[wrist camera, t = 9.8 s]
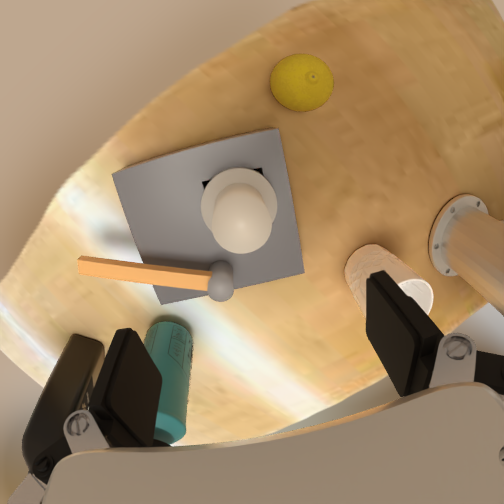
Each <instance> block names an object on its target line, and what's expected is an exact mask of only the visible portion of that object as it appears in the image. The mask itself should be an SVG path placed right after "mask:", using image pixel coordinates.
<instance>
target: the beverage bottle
mask: <svg viewBox="0 0 504 504" xmlns="http://www.w3.org/2000/svg"><path fill="white" fill-rule="evenodd" d="M148 330H149V331H148ZM148 330H147V331H148V332H147V334H146V337H145V341H144V346H145V348H146V350H147V351H148V353H149V355H150V356H151V358H152V360H153V362H154V363H155V365H156V367H157V368H158V370H159V371H160V373H161V375H162V380H163V381H162V388H161V394H160V400H159V406H158V412H157V419H156V425H155V432H154V439H153V445H152V447H172V446H170V444H172V443H174V442H176V441H178V440H180V439H181V438H183V436H184V435H185V433H186V413H187V404H188V403H187V402H188V401H187V400H189V399H188V392H189V379H190V376H191V375H190V373H191V372H190V367H191V369H192V365H191V363H192V362H191V359H192V358H193V354H192V353H193V352H192V351H193V350H192V348H193V346H192V344H194V343H193V342H192V340H193V339H192V337H191V335H190V333H189V332H188V331H187V330H186V329H185V328H184V327H183V326H181V325H179V324H177V323H173V322H159V323H156V324H155V325H153V326H152V327H151V328H149V329H148ZM189 396H190V395H189Z"/></svg>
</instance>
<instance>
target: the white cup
mask: <svg viewBox="0 0 504 504" xmlns="http://www.w3.org/2000/svg"><path fill="white" fill-rule="evenodd" d="M382 270H385V271H386V272H387V273H388V274H389V276H390V277H391V278H392V279H393V280H394V281H395V282H396V283H397V284H398V286H399V287H400V288H401V289H402V290H403V291H404V292H405V294H406V295H407V296H411V297H412V298H413V299H414V300H415V301H416V302H417V303H418V305H419V306H420V307H421V308H422V309H423V310H424V312H425V313H426V314H427V315H428V314H429V312H430V310H431V307H432V304H433V290H432V288H431V286H430V285H429V283H428V282H426V281H425V280H424V279H423V278H422V277H421V276H419V275H418V274H417V273H416V272H415V271H414V270H412V269H411V268H410V267H409V266H408V265H407V264H405V263H404V262H403V261H401V260H400V259H399V258H398V257H396V256H395V255H393V254H392V253H390V252H389V251H388V250H387V249H385V248H383V247H381V246H379V245H378V244H371V245H365V246H363V247H361V248H359V249H357V250H356V251H355V252H354V253H353V254H352V255H351V256H350V257H349V259H348V261H347V264H346V266H345V269H344V272H345V280H346V282H347V284H348V286H349V287H350V289H351V291H352V294H353V296H354V298H355V300H356V302H357V304H358V306H359V308H360V310H361V312H362V314H363V316H364V318H365V320H366V279H367V278H370V274H371V273H375V272H378V271H382Z"/></svg>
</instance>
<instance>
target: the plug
mask: <svg viewBox="0 0 504 504" xmlns="http://www.w3.org/2000/svg"><path fill="white" fill-rule="evenodd" d="M201 213H202V217H203V220H204V222H205V224H206V225H207V227H208V228H209V229H210V230H211V231H212V232H213V235H214V238H215V240H216V241H217V243H218V244H219V245H220V246H221V247H223V248H224V249H226V250H227V251H230V252H233V253H238V254H245V253H250V252H253V251H255V250H257V249H259V248H260V247H261V246H263V245H264V244H265V242H266V241H267V240H268V238H269V236H270V233H271V229H272V223H273V221H274V219H275V216H276V213H277V198H276V194H275V192H274V189H273V188H272V186H271V184H270V183H269V181H268V180H267V179H266V178H265V177H264V176H263V175H262V174H260V173H259V172H257V171H255V170H253V169H250V168H246V167H232V168H228V169H225V170H223V171H221V172H219V173H218V174H216V175H215V176H214V177H213V178H212V179H211V180H210V181H209V182H208V184H207V186H206V188H205V190H204V193H203V196H202V200H201Z"/></svg>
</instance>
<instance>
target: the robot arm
mask: <svg viewBox="0 0 504 504" xmlns="http://www.w3.org/2000/svg"><path fill="white" fill-rule="evenodd" d="M429 256H430V260H431V262H432V264H433V266H434V267H435V268H436V270H437V271H439V272H440V273H441V274H443V275H445V276H457V275H459V276H461V277H462V278H463V279H464V280H465V281H466V282H467V283H469V284H470V285H471V286H472V287H473V288H474V289H475V290H476V291H477V292H479V293H480V294H481V295H482V296H483V297H484V298H485V299H486V300H487V301H488V302H489V303H490V304H491V305H493V306H494V307H495V308H496V309H497V310H498V311H499V312H500V313H501V314H502V315H503V316H504V220H501V221H499V220H497V219H495V218H493V217H491V216H490V215H489V213H488V210H487V207H486V206H485V204H484V203H483V201H482V200H481V199H479V198H477V197H476V196H473V195H471V194H463V195H459V196H457V197H455V198H453V199H452V200H451V201H449V202H448V203H447V204H446V205H445V206H444V207H443V209H442V210H441V212H440V213H439V215H438V216H437V218H436V220H435V222H434V225H433V228H432V230H431V234H430V239H429ZM366 334H367V337H368V339H369V341H370V342H371V344H372V346H373V348H374V350H375V351H376V353H377V355H378V357H379V359H380V360H381V362H382V364H383V366H384V368H385V369H386V371H387V373H388V375H389V377H390V379H391V381H392V382H393V384H394V386H395V388H396V390H397V392H398V394H399V395H400V397H403V396H404V397H403V398H400V399H398V400H395V401H392V402H389V403H387V404H384V405H381V406H378V407H375V408H372V409H369V410H366V411H363V412H360V413H356V414H353V415H350V416H347V417H343V418H340V419H337V420H334V421H329V422H326V423H322V424H318V425H314V426H310V427H306V428H302V429H298V430H293V431H289V432H284V433H278V434H273V435H268V436H262V437H257V438H250V439H244V440H237V441H230V442H221V443H212V444H202V445H190V446H174V447H152V445H153V439H154V432H155V425H156V419H157V412H158V406H159V400H160V394H161V388H162V381H163V380H162V375H161V373H160V371H159V370H158V368H157V367H156V365H155V363H154V362H153V360H152V358H151V356H150V355H149V353H148V351H147V350H146V348H145V346H144V344H143V343H142V341H141V339H140V337H139V335H138V334H137V332H136V331H133V330H132V329H131V328H125V329H119V330H117V331H116V333H115V335H114V337H113V340H112V342H111V345H110V347H109V350H108V352H107V355H106V357H105V360H104V362H103V365H102V368H101V370H100V373H99V375H98V378H97V381H96V384H95V386H94V389H93V392H92V395H91V397H90V400H89V403H88V406H89V409H88V411H87V410H78V411H75V412H73V413H72V414H71V415H69V417H68V418H67V419H66V421H65V423H64V428H63V430H64V434H65V436H63V437H62V438H61V439H59V440H58V441H56V442H55V443H54V444H52V445H51V446H49V447H48V448H47V449H45V450H44V451H42V452H41V453H40V454H39V455H37V456H36V458H35V459H34V462H33V466H32V470H33V475H32V474H30V473H29V474H28V475H27V477H26V478H25V479H24V480H23V481H22V483H21V484H20V485H19V486H18V488H17V489H16V490H15V491H14V493H13V494H12V495H11V496H10V498H9V500H8V504H504V356H501V355H497V354H491V353H486V352H481V351H477V350H476V344H475V343H474V341H473V340H472V339H471V338H470V337H469V336H467V335H465V334H462V333H451V334H448V335H446V336H444V334H443V333H442V332H441V331H440V330H439V328H438V327H437V326H436V325H435V324H434V322H433V321H432V320H431V319H430V318H429V316H428V315H427V314H426V313H425V312H424V310H423V309H422V308H421V307H420V306H419V305H418V303H417V302H416V301H415V300H414V299H413V298H412V297H411V296H407V295H406V294H405V292H404V291H403V290H402V289H401V288H400V287H399V286H398V284H397V283H396V282H395V281H394V280H393V279H392V278H391V277H390V276H389V274H388V273H387V272H386V271H385V270H382V271H378V272H375V273H371V274H370V278H367V279H366Z"/></svg>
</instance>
